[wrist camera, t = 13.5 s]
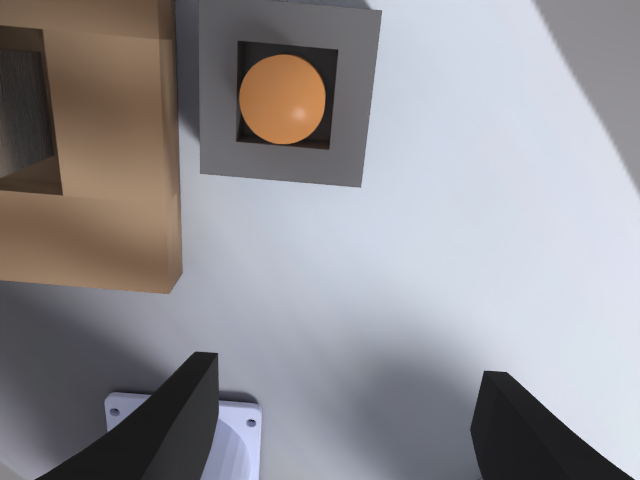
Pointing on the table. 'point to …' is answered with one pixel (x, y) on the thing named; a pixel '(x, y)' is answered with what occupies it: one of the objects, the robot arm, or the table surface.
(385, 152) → the table surface
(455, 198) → the table surface
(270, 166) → the button housing
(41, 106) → the billet
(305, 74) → the button cap
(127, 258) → the wooden board
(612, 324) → the table surface
